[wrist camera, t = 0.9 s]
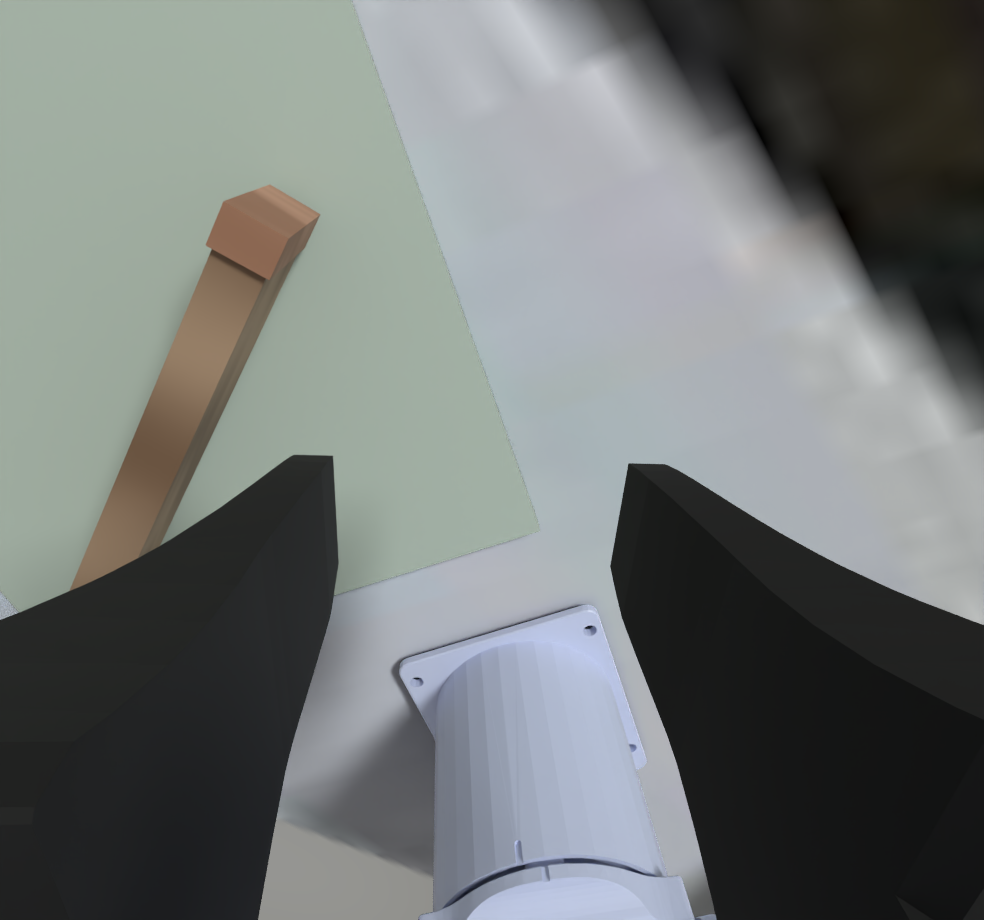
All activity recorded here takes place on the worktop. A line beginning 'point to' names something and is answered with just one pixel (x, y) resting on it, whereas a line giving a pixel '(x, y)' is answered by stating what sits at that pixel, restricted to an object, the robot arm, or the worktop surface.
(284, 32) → the gate mat
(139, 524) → the wooden block
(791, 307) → the worktop surface
